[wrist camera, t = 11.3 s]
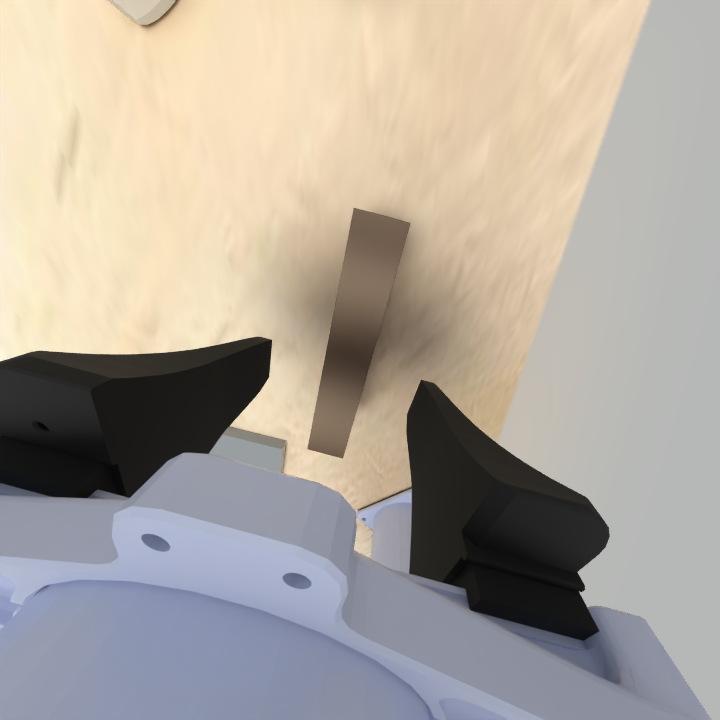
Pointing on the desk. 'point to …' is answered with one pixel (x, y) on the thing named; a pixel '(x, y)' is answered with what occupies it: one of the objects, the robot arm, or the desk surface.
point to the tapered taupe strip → (355, 325)
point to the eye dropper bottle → (143, 9)
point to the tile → (251, 449)
